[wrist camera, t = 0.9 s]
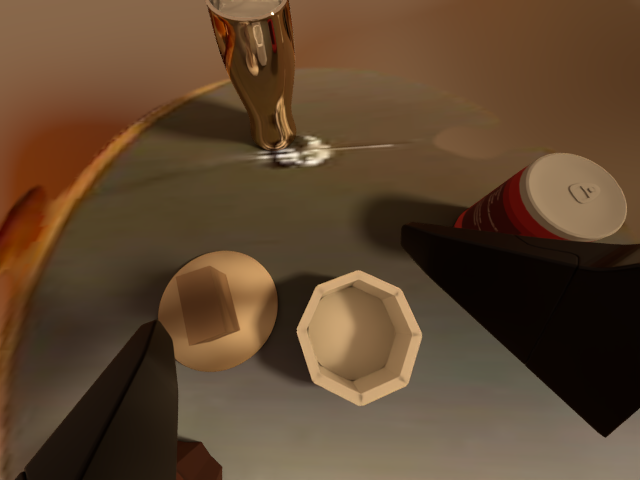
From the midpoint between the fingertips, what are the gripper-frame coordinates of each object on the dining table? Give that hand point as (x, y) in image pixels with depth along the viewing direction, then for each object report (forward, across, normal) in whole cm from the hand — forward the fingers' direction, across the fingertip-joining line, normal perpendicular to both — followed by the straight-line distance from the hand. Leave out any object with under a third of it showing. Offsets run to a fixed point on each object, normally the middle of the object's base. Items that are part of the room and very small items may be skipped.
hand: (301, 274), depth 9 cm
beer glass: (+29, -8, -1) cm, 30 cm away
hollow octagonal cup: (+8, -6, +16) cm, 19 cm away
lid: (+16, +5, +13) cm, 21 cm away
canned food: (+9, -25, +12) cm, 29 cm away
